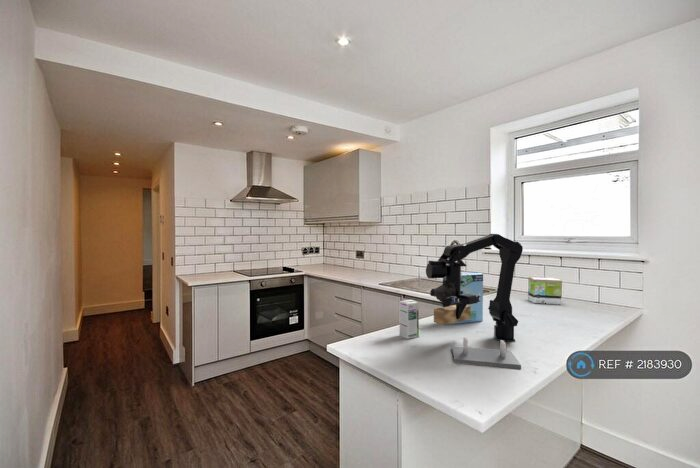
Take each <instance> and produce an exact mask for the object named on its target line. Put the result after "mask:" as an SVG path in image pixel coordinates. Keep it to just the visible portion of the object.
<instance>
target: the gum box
mask: <svg viewBox="0 0 700 468" xmlns="http://www.w3.org/2000/svg"><path fill="white" fill-rule="evenodd" d="M445 277H446V276H445ZM445 277H444V278H442V281H443V280H445ZM461 280H462V281H463V283H461V291H463V294H461V295H464V294H472V295H476V296H477V298H478V303H475V304H469V305H468V306H471V319H467V320H463V321H459V322H454V323H450V324H449V325H452V324H453V325H454V324H465V323H475V322H477V323H478V322H483V321H484V320H483V319H484V318H483V317H484V316H483V315H484V312H483V311H484V308H483V307H484V305H483V304H484V296H483V295H484V273H480V272H468V273H466V272H465V273H461ZM454 302H458V299H455V298H452V300H451V306H453V305H455V303H454Z"/></svg>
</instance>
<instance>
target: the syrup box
mask: <svg viewBox="0 0 700 468" xmlns="http://www.w3.org/2000/svg"><path fill="white" fill-rule="evenodd" d="M398 305H399V309H398V310H399V311H398V312H399V313H398V314H399V321H398V323H399V327H398V328H399V336H401V337H402V338H405V339H407V340H410V339H414V338H419V336H420V334H419V330H420V329H419V328H420V326H419V322H420V321H419V320H420V319H419V308H420V307H419V302H418V301H416V300H414V299H406V300H400V301H399V304H398Z"/></svg>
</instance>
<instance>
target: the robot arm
mask: <svg viewBox="0 0 700 468" xmlns="http://www.w3.org/2000/svg"><path fill="white" fill-rule="evenodd" d="M491 246H493V247H494V248H496V249H498V250H499V252H498V253H499V254H498V256H499V258H500V261H501V265H500V271H499V277H498V283H497V291H496V295H495V297H494V299H490V300H489V305H488V308H487V310H488V313H489V315H490V317H491V318H492V320H493V322H495V324H494V326H493V336H494V338H496V340H497V341H500V340H503V341H504V342H505V341H507V342H516V339H515V327H517V326H518V323H519V320H518V319H517V318H516V317H515V316H514V315H513V306H512V304H511V294H512V293H511V292H512V287H513V281H514V280H513V279H514V274H515V267H516V264H517V262H519V260H520V259H521V257H522V253H523V245H522V244H521V243H520V241H519V242H518V241H514V240H512V239H509V238H506V237H504V236H502V235H501V234H499V233H489V234H487V235H485V236H482V237H480V238H476V239H474V240H471V241H468V242H464V243H460V244H459V243H458V244H449V245H446V246H445V247H444V250H443V252H442V254H441V256H440V257H439V258H438V260H428V261H427V265H426V268H425V274H426V277H427V278H428V279H442V284H441V285H439V286H437V287H435V288H432V289H431V290H430V292H429V293H430V295H429V296H430V297H435V298H436V299H437V300H438V301H439V302H441V305H442V307H447V306H451V300H452V298H455V299H458V302H454V303H455V305H456V319H459V318H460V316H461V314H462V312H463V310H464V308H465V307H466V305H469V304H475V303H478V298H477V296H476V295H472V294H464V295H461V294H463V291H461V283H463V281H462V280H461V274H462V267H467V264H466V263H465V262H464V261H463V259H465V258H467V256H469V255H470V254H472V253H474V252H477V251H480V250H482V249H486V248H489V247H491ZM445 276H446V277H445ZM444 277H445V280H443V278H444Z"/></svg>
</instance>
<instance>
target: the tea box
mask: <svg viewBox="0 0 700 468" xmlns="http://www.w3.org/2000/svg"><path fill="white" fill-rule="evenodd" d="M562 282H563V280H561V279H558V278H555V277H543V276H541V277H539V276H529V277H528V281H527V283H528V289H527V301H530V302H531V303H533V304H545V303H546V304H545V305H547V304H548V305H558V304H560V305H562V288H563V287H562V285H563V283H562Z"/></svg>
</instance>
